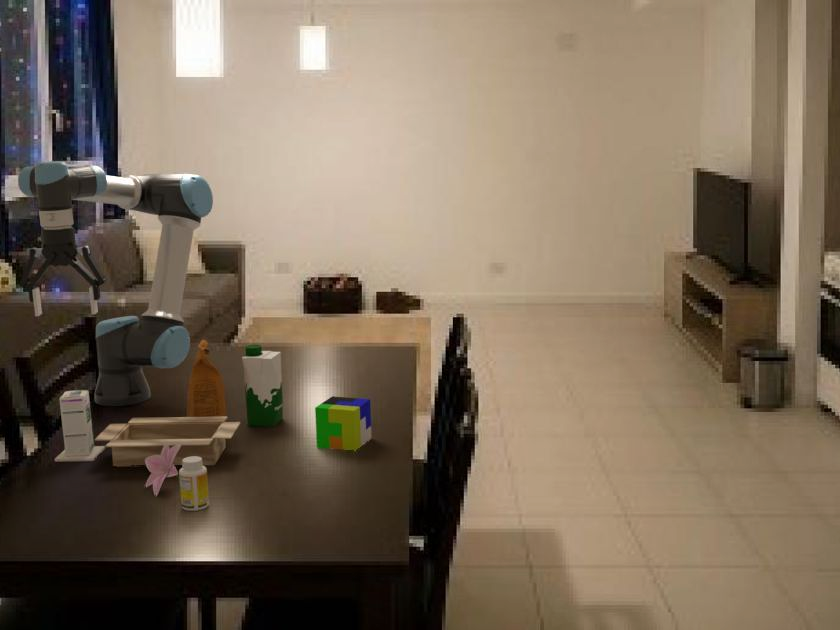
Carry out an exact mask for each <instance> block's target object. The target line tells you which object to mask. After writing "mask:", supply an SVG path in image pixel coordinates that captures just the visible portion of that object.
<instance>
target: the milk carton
mask: <svg viewBox="0 0 840 630" xmlns="http://www.w3.org/2000/svg"><path fill="white" fill-rule="evenodd" d="M241 360H242V367H243V373H244V377H243V378H244V392H245V394H244V395H245V408H246V409H245V410H246V421H247V422H246V423H247V426H252V427H254V426H255V427H275V426H276V425H277V424H278V423H279V422H280V421H281V420H283V418H284V417H283V415H284V414H283V413H284V412H283V411H284V408H283V407H284V404H283V403H284V400H283V398H284V397H283V383H282V381H283V380H282V352H281V351H272V350H262V345H260V344H249V345H246V346H245V354H244V355H243V356H242V357H241Z"/></svg>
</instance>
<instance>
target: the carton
mask: <svg viewBox="0 0 840 630" xmlns="http://www.w3.org/2000/svg"><path fill="white" fill-rule="evenodd" d="M227 420H228V416H227V415H226V417H187V416H181V417H180V416H178V417H176V416H175V417H174V416H173V417H172V416H171V417H169V416H168V417H167V416H166V417H162V416H161V417H132V418H131V419H130V420H129V421H128V422H127V423H109V424H108V425H107V426H106V427H105V429H104V430H102V431H101V432H100V433H99V435H97V436H96V438H94V442H96V441H98V442H103V441H104V442H105V441H107V442H108V441H109V442H108V443H106V445H105V448H111V455H112V456H111V457H112V467H113V466H116V467H132V466H131V465H135V466H134V467H139V466H138V465H146V464H145V459H146V458H147V457H149V456H152V455H161V452H162V449H163V447H164V445H165V443H166V442H167V441H168V445H169V449H170V448H172V447H173V446H175V445H177V444H180V443H181V447H180V449H179V450H178V452H177V454H176V456H175V458H174V460H173V462H172V463H173V464H174V465H182V460H183V459H184V458H186V457H191V456H198V457H201V458H202V463H203V466H215V465H216V463H217V461H218V460H219V459H220V457H221V455H222V454H223V452H224V450H225V448H226V447H227V444H226V440H228V439H229V440H231V439H232V438H233V436H234V435H235V433H236V431H237V430H238V428H239V426H240V424H241V421H227ZM225 421H226V422H225ZM136 465H137V466H136Z"/></svg>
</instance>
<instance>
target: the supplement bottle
mask: <svg viewBox="0 0 840 630" xmlns="http://www.w3.org/2000/svg"><path fill="white" fill-rule="evenodd" d="M178 476H179V479H180V480H179V490H180V502H181V503H180V505H181V507H182V509H183V510H185V511H188V512H195V511H196V512H197V511H201V510H204V509H206V508H208V506H209V504H210V498H209V497H210V495H209V483H208V482H209V481H208V470H207V467H206V465H203V463H202V458H201V457H198V456H191V457H186V458H184V459H183V460H182V467H181V468H180V469H179V470H178Z"/></svg>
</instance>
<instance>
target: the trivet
mask: <svg viewBox="0 0 840 630" xmlns="http://www.w3.org/2000/svg"><path fill="white" fill-rule="evenodd" d="M104 450H106V445H100V446H99V445H97V446H96V445H94V449H93V450H92V452H91V454H90V455H85V456H66V455H65V449H64V450H63V451H61V453H59V454H58V455H57V456H56V457H55V458H54V462H95V460H96V459H97V458H98V457H99V456H100V455H99V454H100V453H103V452H104ZM98 455H99V456H98ZM97 456H98V457H97ZM95 458H96V459H95Z"/></svg>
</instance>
